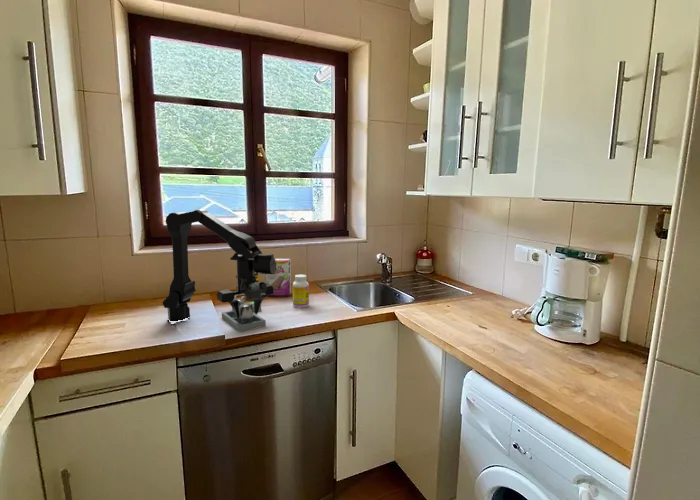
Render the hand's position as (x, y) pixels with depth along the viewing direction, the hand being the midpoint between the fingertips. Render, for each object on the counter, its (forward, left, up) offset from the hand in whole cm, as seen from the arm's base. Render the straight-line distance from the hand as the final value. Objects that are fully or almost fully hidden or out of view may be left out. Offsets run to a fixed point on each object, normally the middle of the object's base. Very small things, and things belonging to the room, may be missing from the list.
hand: (247, 316), depth 134 cm
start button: (+8, +14, -3) cm, 17 cm away
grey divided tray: (0, +4, -4) cm, 6 cm away
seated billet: (0, +8, -3) cm, 9 cm away
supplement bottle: (+27, +9, -4) cm, 29 cm away
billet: (0, 0, -3) cm, 3 cm away
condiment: (+14, +30, -4) cm, 33 cm away
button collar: (+8, +14, -4) cm, 17 cm away
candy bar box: (+27, +29, -4) cm, 40 cm away
